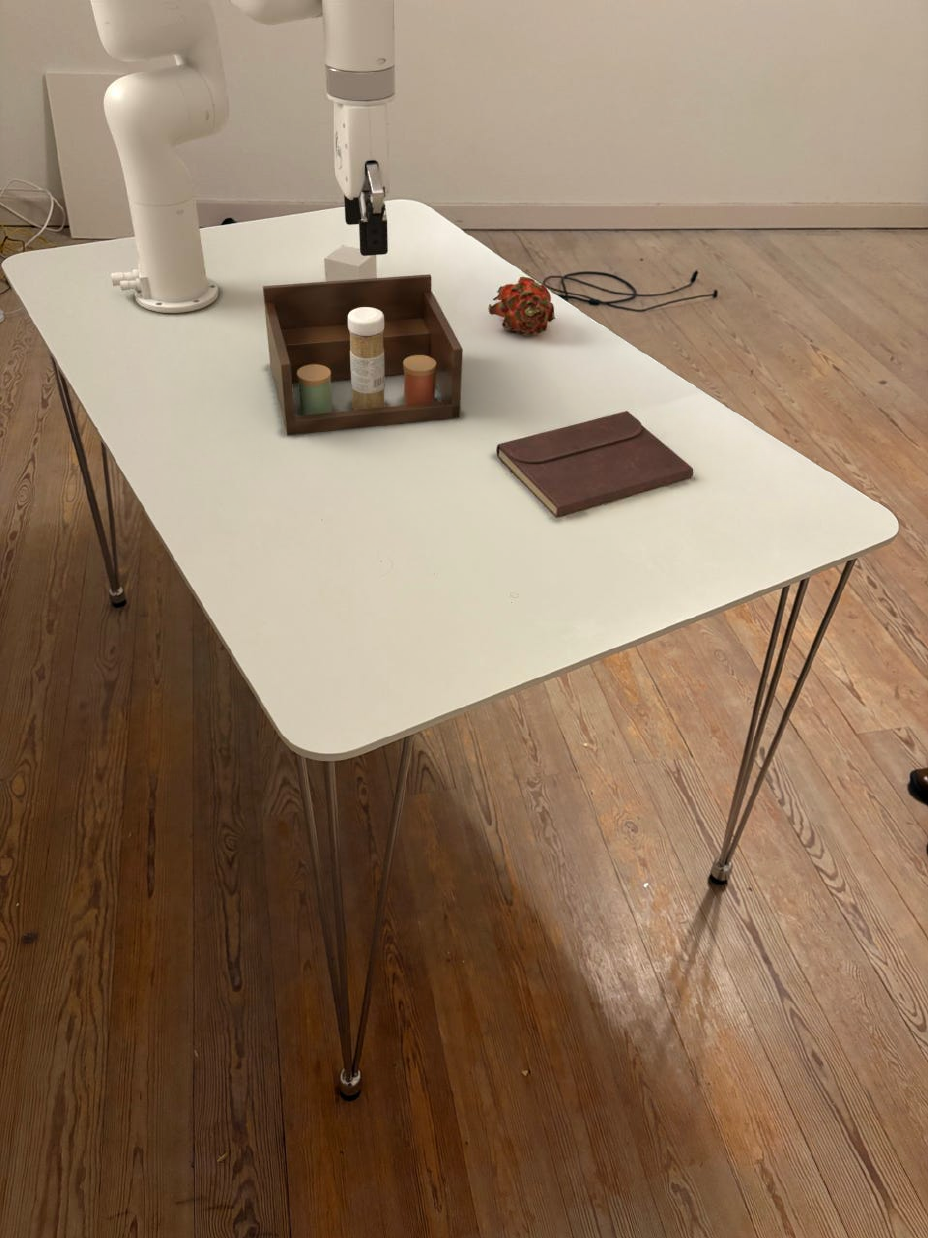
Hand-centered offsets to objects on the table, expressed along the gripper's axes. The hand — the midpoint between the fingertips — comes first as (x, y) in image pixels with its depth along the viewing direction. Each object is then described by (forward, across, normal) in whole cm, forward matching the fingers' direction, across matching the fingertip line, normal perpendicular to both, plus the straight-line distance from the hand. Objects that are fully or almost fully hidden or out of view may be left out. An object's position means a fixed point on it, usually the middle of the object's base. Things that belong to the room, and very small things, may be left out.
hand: (366, 238), depth 122 cm
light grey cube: (+22, -34, +4) cm, 41 cm away
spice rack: (+22, -4, -1) cm, 23 cm away
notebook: (+23, +21, +24) cm, 39 cm away
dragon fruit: (+23, -17, +26) cm, 39 cm away
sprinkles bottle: (+23, +1, -1) cm, 23 cm away
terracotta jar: (+22, +1, +6) cm, 23 cm away
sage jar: (+22, +1, -8) cm, 24 cm away
